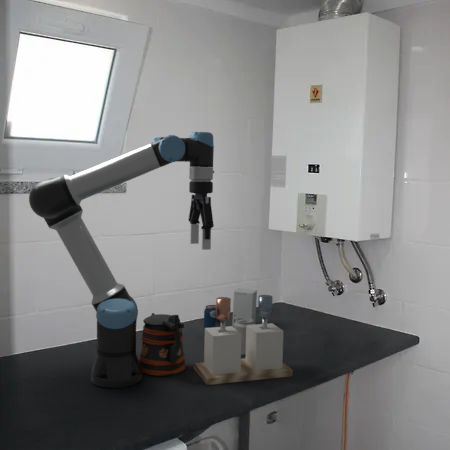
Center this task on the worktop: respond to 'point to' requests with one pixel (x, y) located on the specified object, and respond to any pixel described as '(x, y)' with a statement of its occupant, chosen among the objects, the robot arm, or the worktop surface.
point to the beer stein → (162, 345)
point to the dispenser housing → (231, 348)
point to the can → (243, 331)
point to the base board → (241, 374)
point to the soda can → (210, 317)
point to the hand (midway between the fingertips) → (200, 246)
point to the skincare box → (244, 304)
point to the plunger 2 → (265, 308)
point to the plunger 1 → (223, 311)
